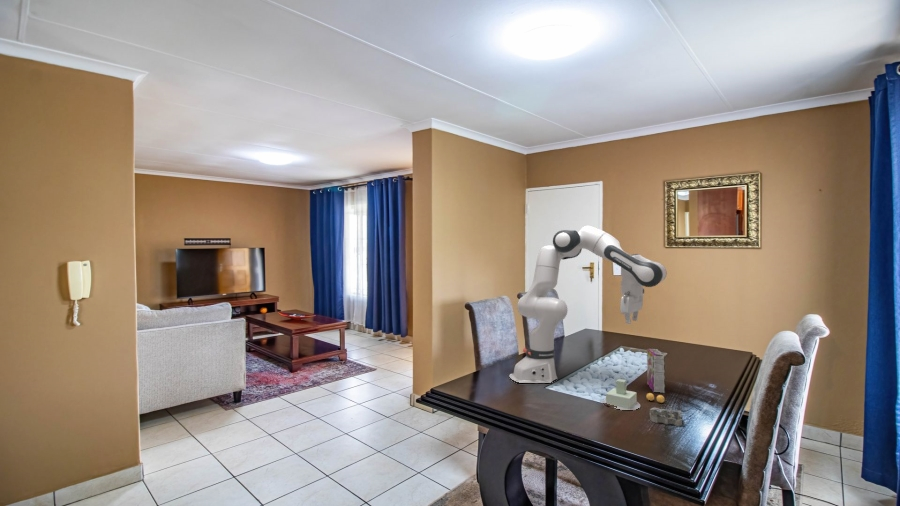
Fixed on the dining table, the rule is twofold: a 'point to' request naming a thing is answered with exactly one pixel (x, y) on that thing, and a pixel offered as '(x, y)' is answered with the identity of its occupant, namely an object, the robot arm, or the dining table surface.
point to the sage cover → (621, 395)
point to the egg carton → (666, 416)
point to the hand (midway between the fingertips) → (631, 321)
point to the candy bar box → (656, 370)
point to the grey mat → (626, 408)
